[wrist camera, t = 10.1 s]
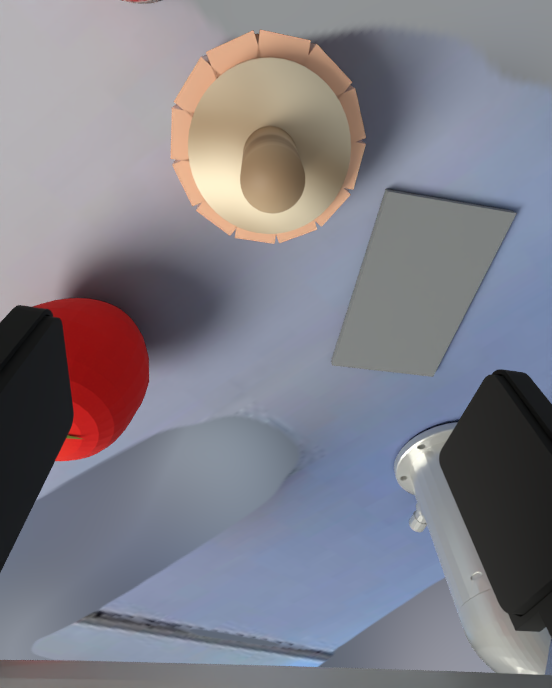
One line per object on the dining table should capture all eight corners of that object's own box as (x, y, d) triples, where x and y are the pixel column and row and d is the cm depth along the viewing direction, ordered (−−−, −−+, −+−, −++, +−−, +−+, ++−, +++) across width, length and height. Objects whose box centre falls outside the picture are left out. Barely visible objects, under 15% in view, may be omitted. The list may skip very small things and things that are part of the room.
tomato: (186, 350, 38) (161, 467, 28) (88, 389, 40) (31, 510, 30) (108, 243, 32) (38, 343, 22) (-2, 296, 34) (-113, 409, 24)
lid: (326, 236, 28) (342, 281, 23) (186, 215, 26) (170, 257, 21) (366, 75, 22) (398, 87, 17) (195, 40, 21) (176, 42, 16)
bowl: (327, 228, 32) (335, 252, 28) (179, 204, 30) (169, 228, 27) (370, 54, 25) (389, 57, 22) (186, 14, 24) (174, 10, 20)
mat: (430, 372, 41) (433, 376, 40) (331, 361, 40) (332, 365, 39) (512, 210, 32) (516, 213, 31) (385, 188, 30) (388, 191, 30)
